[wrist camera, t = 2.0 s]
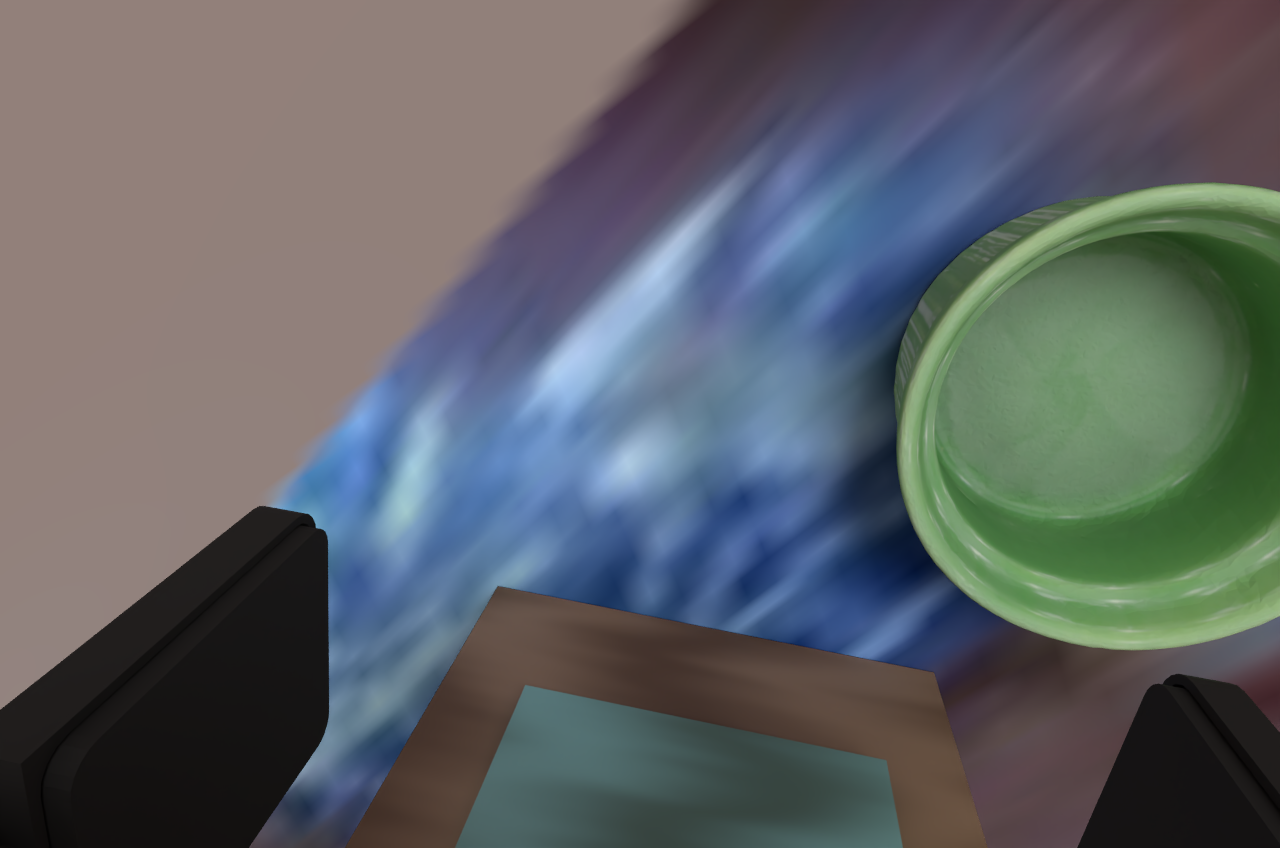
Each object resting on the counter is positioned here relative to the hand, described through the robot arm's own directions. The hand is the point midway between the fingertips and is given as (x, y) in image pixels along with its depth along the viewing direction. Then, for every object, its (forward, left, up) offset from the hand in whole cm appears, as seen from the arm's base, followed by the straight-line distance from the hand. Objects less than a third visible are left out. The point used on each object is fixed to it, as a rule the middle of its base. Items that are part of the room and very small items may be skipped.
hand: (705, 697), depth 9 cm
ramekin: (-7, -2, -12) cm, 14 cm away
